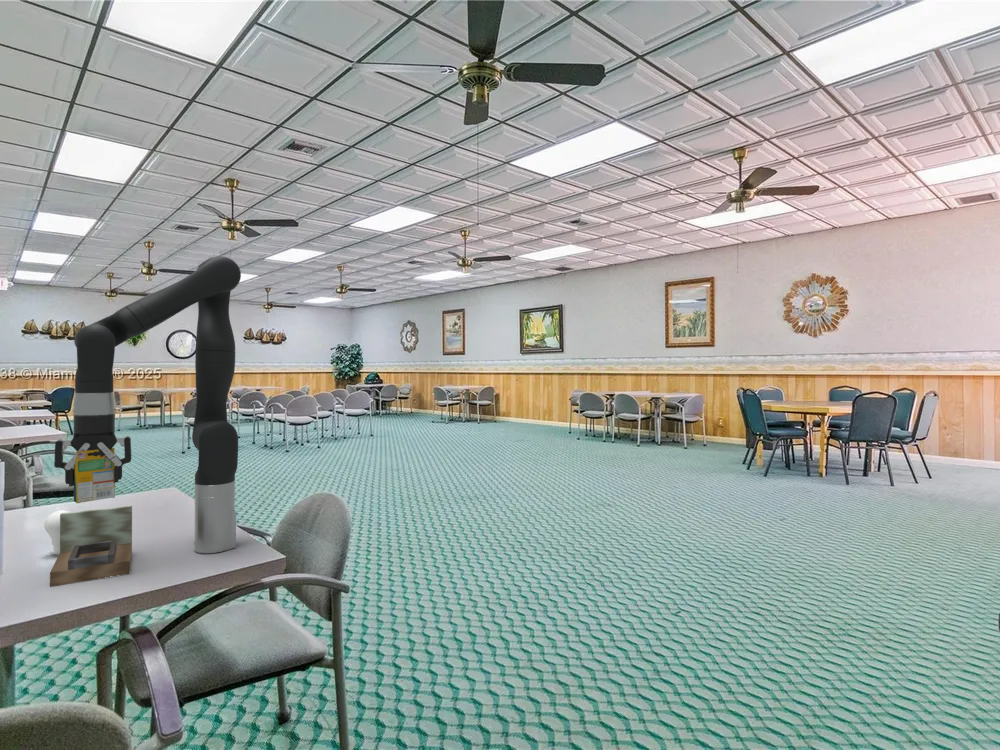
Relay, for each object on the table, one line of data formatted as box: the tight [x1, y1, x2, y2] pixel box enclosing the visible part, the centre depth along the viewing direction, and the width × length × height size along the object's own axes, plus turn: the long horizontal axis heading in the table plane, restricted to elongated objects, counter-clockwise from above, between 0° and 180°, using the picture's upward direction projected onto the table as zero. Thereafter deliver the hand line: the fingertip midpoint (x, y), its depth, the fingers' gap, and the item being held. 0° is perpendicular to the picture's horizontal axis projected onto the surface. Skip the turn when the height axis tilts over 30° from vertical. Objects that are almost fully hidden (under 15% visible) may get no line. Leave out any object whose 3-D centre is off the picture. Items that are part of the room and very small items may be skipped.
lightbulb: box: [43, 509, 70, 556], centre depth 135 cm, size 6×6×11 cm
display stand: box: [49, 505, 133, 588], centre depth 126 cm, size 14×16×12 cm
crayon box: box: [73, 447, 116, 504], centre depth 124 cm, size 7×3×12 cm, turn 139°
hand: (94, 483), depth 124 cm, fingers closed on crayon box, 8 cm apart
